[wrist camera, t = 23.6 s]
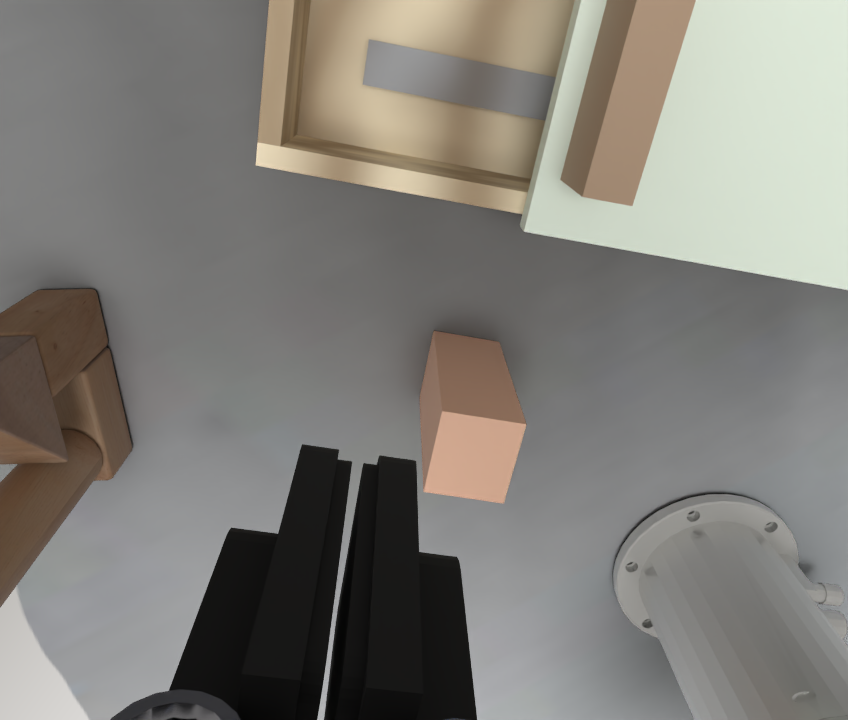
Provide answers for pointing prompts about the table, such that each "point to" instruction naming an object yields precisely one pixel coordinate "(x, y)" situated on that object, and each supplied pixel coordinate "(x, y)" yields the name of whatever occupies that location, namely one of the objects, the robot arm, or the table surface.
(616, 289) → the table surface
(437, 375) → the salmon rectangular block
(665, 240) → the lid
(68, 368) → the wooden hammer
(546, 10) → the tan wooden low box
